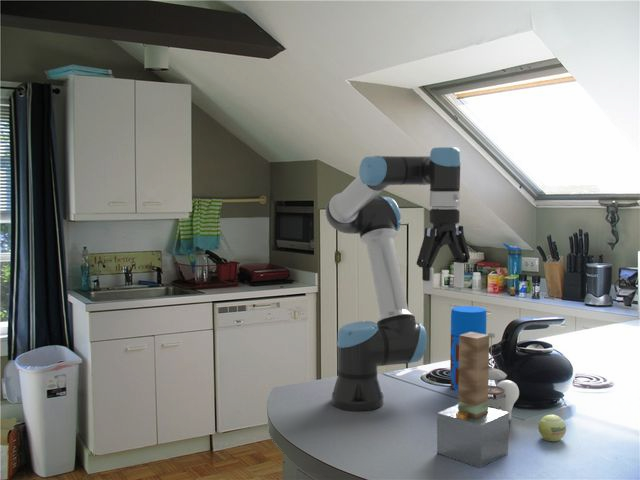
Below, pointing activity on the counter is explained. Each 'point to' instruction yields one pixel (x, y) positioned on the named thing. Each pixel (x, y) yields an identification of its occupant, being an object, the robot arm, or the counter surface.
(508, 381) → the lightbulb
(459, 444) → the silver metal block
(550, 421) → the tennis ball
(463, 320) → the thermos
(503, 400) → the french press
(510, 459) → the counter surface
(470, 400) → the post
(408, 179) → the robot arm
